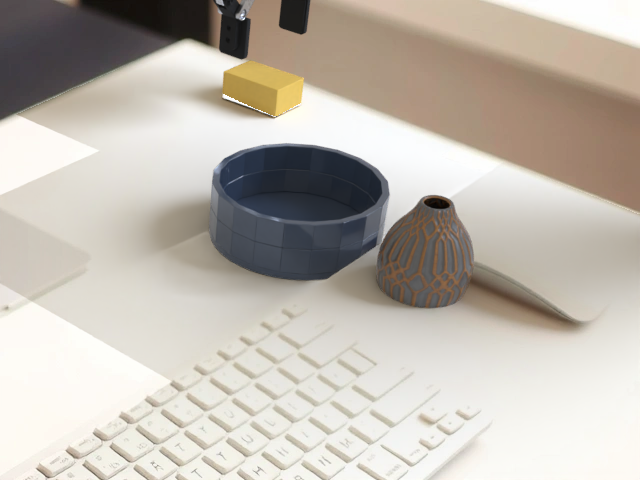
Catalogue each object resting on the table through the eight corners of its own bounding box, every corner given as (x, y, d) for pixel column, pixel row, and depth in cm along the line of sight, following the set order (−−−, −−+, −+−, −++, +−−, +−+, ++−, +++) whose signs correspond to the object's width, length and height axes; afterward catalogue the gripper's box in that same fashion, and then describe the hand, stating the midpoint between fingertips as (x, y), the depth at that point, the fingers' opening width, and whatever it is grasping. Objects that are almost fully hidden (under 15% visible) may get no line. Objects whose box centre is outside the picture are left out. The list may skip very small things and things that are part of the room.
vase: (426, 341, 78) (449, 236, 73) (352, 301, 82) (368, 199, 77) (481, 307, 82) (506, 204, 77) (407, 270, 86) (426, 171, 81)
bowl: (277, 179, 99) (282, 128, 96) (412, 234, 91) (422, 180, 88) (174, 235, 90) (176, 181, 87) (313, 301, 82) (321, 244, 79)
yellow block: (248, 86, 116) (250, 59, 114) (301, 105, 112) (304, 77, 110) (221, 98, 113) (223, 71, 112) (274, 118, 110) (277, 90, 108)
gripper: (255, -116, 92) (238, 76, 102) (368, -146, 102) (343, 31, 112) (188, -132, 96) (179, 54, 106) (303, -159, 106) (285, 13, 116)
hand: (263, 42), depth 109 cm, fingers open, 9 cm apart
